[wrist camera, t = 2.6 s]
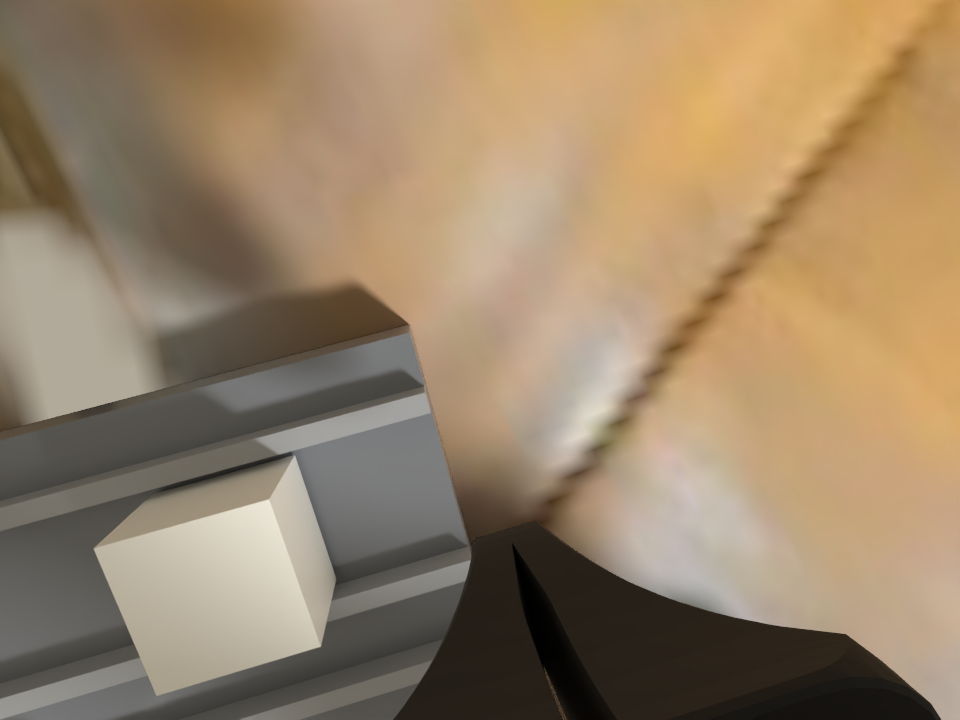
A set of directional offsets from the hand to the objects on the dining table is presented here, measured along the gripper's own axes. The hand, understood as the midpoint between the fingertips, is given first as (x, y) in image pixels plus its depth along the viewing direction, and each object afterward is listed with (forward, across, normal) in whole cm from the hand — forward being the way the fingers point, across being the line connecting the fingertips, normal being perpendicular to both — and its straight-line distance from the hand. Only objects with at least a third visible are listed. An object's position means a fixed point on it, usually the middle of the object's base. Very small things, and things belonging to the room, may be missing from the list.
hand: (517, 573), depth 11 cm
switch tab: (+6, +7, 0) cm, 9 cm away
